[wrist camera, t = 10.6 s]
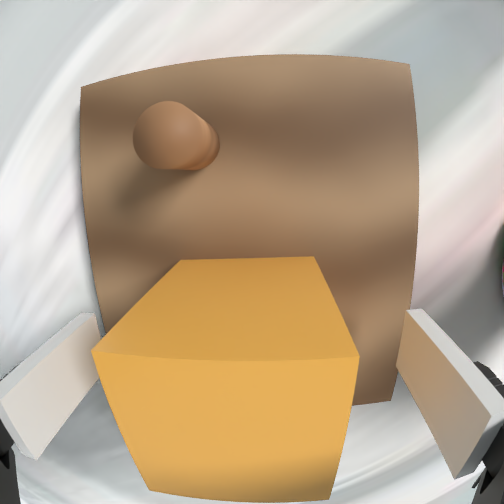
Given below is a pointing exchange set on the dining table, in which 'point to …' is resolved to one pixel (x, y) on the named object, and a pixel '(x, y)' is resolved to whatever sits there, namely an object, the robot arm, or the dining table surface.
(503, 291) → the mug
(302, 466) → the mustard yellow box
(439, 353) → the robot arm
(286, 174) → the board
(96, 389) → the dining table surface
